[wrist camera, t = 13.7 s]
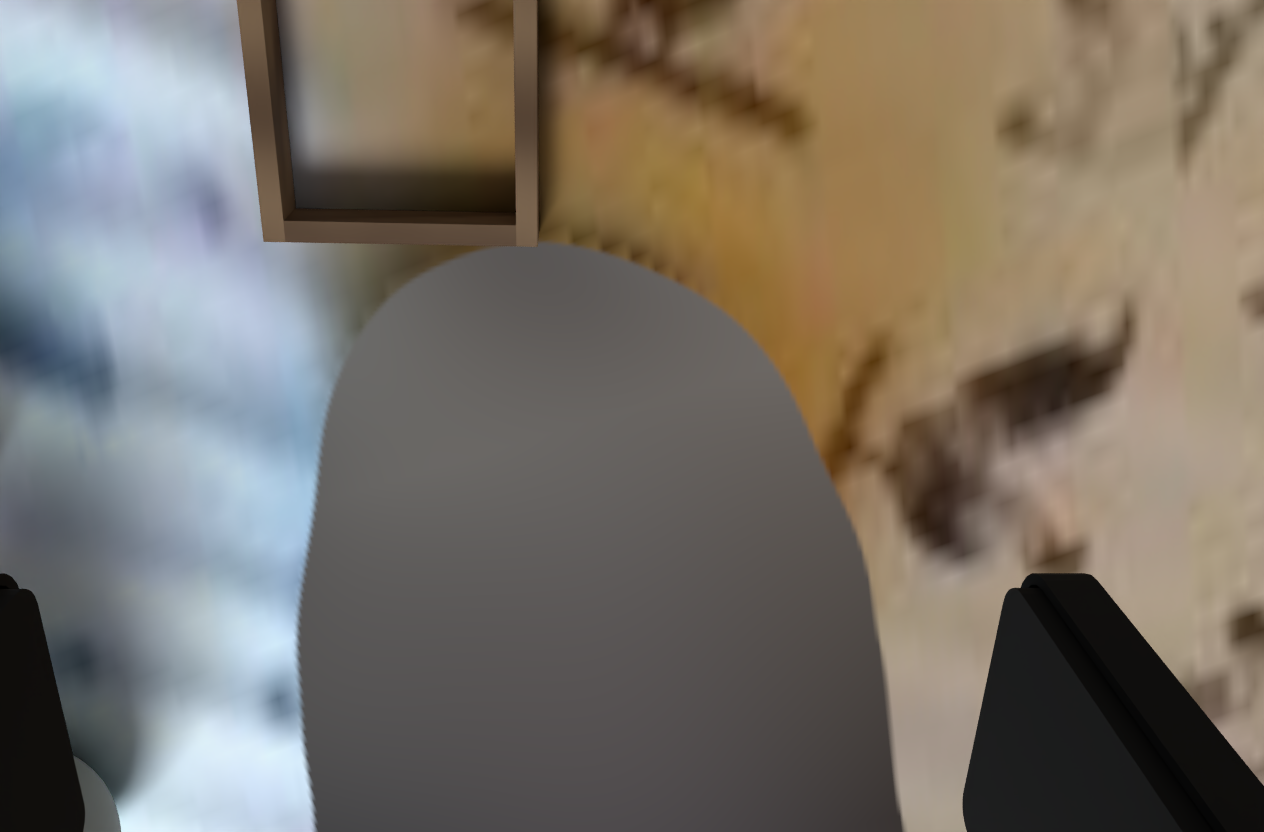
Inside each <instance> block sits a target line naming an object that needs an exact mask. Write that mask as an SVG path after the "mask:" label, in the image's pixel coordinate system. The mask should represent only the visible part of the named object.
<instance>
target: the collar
mask: <svg viewBox="0 0 1264 832" xmlns="http://www.w3.org/2000/svg"><path fill="white" fill-rule="evenodd" d="M237 7H238V16H239V25H240V34H241V43H242V52H243V61H244V70H245V79H246V88H247V97H248V106H249V114H250V123H251V132H252V141H253V150H254V159H255V168H256V177H257V186H258V195H259V204H260V213H261V222H262V231H263V240H264V242H310V243H365V244H420V245H475V246H531V247H532V246H533V247H537V246H538V238H539V72H538V0H513V10H514V93H515V177H516V213H507V212H457V211H407V210H357V209H308V208H296V204H295V194H294V183H293V173H292V163H291V153H290V142H289V132H288V122H287V111H286V101H285V91H284V81H283V70H282V60H281V50H280V40H279V29H278V19H277V9H276V0H237Z"/></svg>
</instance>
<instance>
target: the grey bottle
mask: <svg viewBox="0 0 1264 832" xmlns="http://www.w3.org/2000/svg"><path fill="white" fill-rule="evenodd" d="M73 757H74V761H75V766H76V770H77V774H78V779H79V783H80V787H81V791H82V796H83V800H84V805H85V824H84V830H83V832H121V826H120V820H119V815H118V811H117V808H116V805H115V802H114V800H113V797H112V795H111V793H110V791H109V790H108V788H107V786H106V785H105V783H104V782H103V780H102V779H101V778H100V777H99V775H98V774H97V773H96V772H95V771H94V770H93V769H92V768H91V767H90V766H88V765H87V764H86V763H85V762H83V761H82V760H80V759H79V758H77V757H75V756H73Z"/></svg>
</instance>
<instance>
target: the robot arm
mask: <svg viewBox="0 0 1264 832" xmlns="http://www.w3.org/2000/svg"><path fill="white" fill-rule="evenodd" d="M963 816H964V822H965V826H966V830H967V832H1264V786H1263V785H1262V783H1261V782H1260V781H1259V780H1258V778H1257V777H1256V776H1255V775H1254V773H1253V772H1252V771H1251V770H1250V769H1249V767H1248V766H1247V765H1246V764H1245V762H1244V761H1243V760H1242V759H1241V757H1240V756H1239V755H1238V754H1237V752H1236V751H1235V750H1234V749H1233V748H1232V746H1231V745H1230V744H1229V743H1228V741H1227V740H1226V739H1225V738H1224V736H1223V735H1222V734H1221V733H1220V731H1219V730H1218V729H1217V728H1216V726H1215V725H1214V724H1213V723H1212V722H1211V720H1210V719H1209V718H1208V717H1207V715H1206V714H1205V713H1204V712H1203V710H1202V709H1201V708H1200V707H1199V705H1198V704H1197V703H1196V702H1195V701H1194V699H1193V698H1192V697H1191V696H1190V694H1189V693H1188V692H1187V691H1186V689H1185V688H1184V687H1183V686H1182V684H1181V683H1180V682H1179V681H1178V680H1177V678H1176V677H1175V676H1174V675H1173V673H1172V672H1171V671H1170V670H1169V668H1168V667H1167V666H1166V665H1165V663H1164V662H1163V661H1162V660H1161V659H1160V657H1159V656H1158V655H1157V654H1156V652H1155V651H1154V650H1153V649H1152V647H1151V646H1150V645H1149V644H1148V642H1147V641H1146V640H1145V639H1144V638H1143V636H1142V635H1141V634H1140V633H1139V631H1138V630H1137V629H1136V628H1135V626H1134V625H1133V624H1132V623H1131V621H1130V620H1129V619H1128V618H1127V616H1126V615H1125V614H1124V613H1123V612H1122V610H1121V609H1120V608H1119V607H1118V605H1117V604H1116V603H1115V602H1114V600H1113V599H1112V598H1111V597H1110V595H1109V594H1108V593H1107V592H1106V591H1105V589H1104V588H1103V587H1102V586H1101V584H1100V583H1099V582H1098V581H1097V580H1096V579H1095V578H1094V577H1093V576H1092V575H1089V574H1084V573H1032V574H1030V575H1028V576H1027V577H1026V578H1025V580H1024V581H1023V583H1022V586H1021V588H1012V589H1010V590H1009V591H1008V592H1007V594H1006V595H1005V598H1004V602H1003V606H1002V611H1001V616H1000V620H999V625H998V630H997V635H996V640H995V644H994V649H993V654H992V659H991V663H990V668H989V673H988V678H987V683H986V687H985V692H984V697H983V702H982V707H981V711H980V716H979V721H978V726H977V730H976V735H975V740H974V745H973V750H972V754H971V759H970V764H969V769H968V773H967V778H966V783H965V788H964V793H963ZM84 824H85V805H84V800H83V796H82V791H81V787H80V783H79V779H78V774H77V770H76V766H75V761H74V757H73V753H72V749H71V744H70V740H69V736H68V731H67V727H66V723H65V719H64V714H63V710H62V706H61V701H60V697H59V693H58V689H57V684H56V680H55V676H54V672H53V667H52V663H51V659H50V654H49V650H48V646H47V642H46V637H45V633H44V629H43V624H42V620H41V616H40V612H39V607H38V603H37V601H36V598H35V596H34V594H33V593H32V592H31V591H30V590H27V589H19V588H18V585H17V583H16V582H15V580H14V579H13V578H12V577H11V576H9V575H7V574H0V832H83V830H84Z"/></svg>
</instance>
